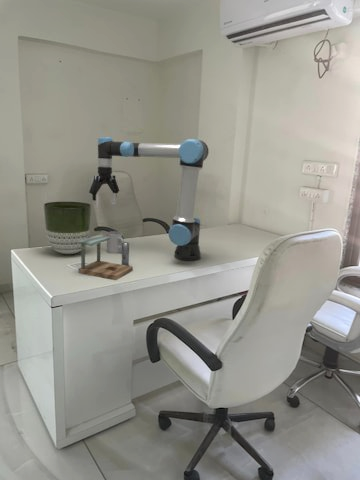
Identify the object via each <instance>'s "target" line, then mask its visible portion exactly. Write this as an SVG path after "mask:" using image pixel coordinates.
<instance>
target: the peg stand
mask: <svg viewBox="0 0 360 480" xmlns="http://www.w3.org/2000/svg"><path fill="white" fill-rule="evenodd" d="M107 240H110V237H107V235H100V234H97V235H93V236H91V237H90V236H89V238H87V239H84V240H81V241H78V244H81V251H80V254H81V255H80V256H81V257H80V259H81V260H80V263H81V265H80V266H81V267H79V268H78V273H79V274H82V275H87V274H88V275H89V276H92V275H93V277H98V278H104V279H109V280H111V281H112V280H113V281H117V280H118V279H121V278H122V277H124V276H126V275H127V274H129V273H131V272H133V270H134V269H133V268H134V267H133V266H130V265H129V266H126V265H122V264H121V263H120V264H119V263H115V262H108V261H104V260H101V243H103V242H107ZM85 245H86V246H87V247H88V246H89V247H93V246H95V245H96V260H95V261H93V262H91V263H88V264H86V246H85ZM88 275H87V276H88Z"/></svg>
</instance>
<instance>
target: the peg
mask: <svg viewBox="0 0 360 480" xmlns="http://www.w3.org/2000/svg"><path fill="white" fill-rule="evenodd" d="M129 260H130V242H127V241H124V242H122V252H121V265H126V266H130V265H129V264H130V263H129V262H130V261H129Z"/></svg>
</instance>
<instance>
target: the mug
mask: <svg viewBox="0 0 360 480" xmlns="http://www.w3.org/2000/svg"><path fill="white" fill-rule="evenodd" d="M106 236H107V237H110V240H107V241H106V252H107V253H109V254H121V253H122V242H125V241H124V238H123V232H121V231H108V232H106Z"/></svg>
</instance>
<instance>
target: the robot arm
mask: <svg viewBox="0 0 360 480" xmlns="http://www.w3.org/2000/svg"><path fill="white" fill-rule="evenodd" d="M208 156H209V147H208V145H207V144H206V142H205V141H203V140H200V139H197V138H188V139H186V140H184V141H182V143H161V142H160V143H155V142H154V143H153V142H152V143H151V142H131V141H113V138H112V137H106V136H100V137H98V138H97V166H98V167H97V174H98V175H93V180H92V184H91V186H90V188H89V191H88V193H89V194H91V195H92V196H91V197H92V201H93V202H92V203H93V204H92V206H93V207H96V208H97V207H99V199H98V198H99V195H98V192H99V191H100V189H101V187H102V186H103V185H107V186H108V188H109V189H110V190H111V193H110V195H111V197H110V198H111V202H110V204H111V205H114V206H115V205H116V204H117V202H116V201H117V194H118V193H119V192H120V189H119V185H118V183H117V182H118V181H117V180H116V175H112V174H113V168H112V167H113V157H124V158H125V157H126V158H128V157H130V158H131V157H133V158H163V159H164V158H165V159H180V160H179V167H180V168H181V174H180V183H179V190H178V191H179V192H178V198H177V207H176V214H175V216H173V217H172V223H171V226H170V228H169V230H168V238H169V241H170V242H171V243H172V244H174V245H175V246H176V248H175V251H174V252H173V254H174V258H176V259H177V260H183V261H199V260H200V259H201V258H202V254H201V252H202V251H201V249H200V246H199V243H200V231H201V230H200V229H201V219H200V218H198V217H194V209H195V202H196V195H197V189H198V179H199V173H200V171H201V170H202V169H203V165H204V161H206V160H207V158H208Z"/></svg>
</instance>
